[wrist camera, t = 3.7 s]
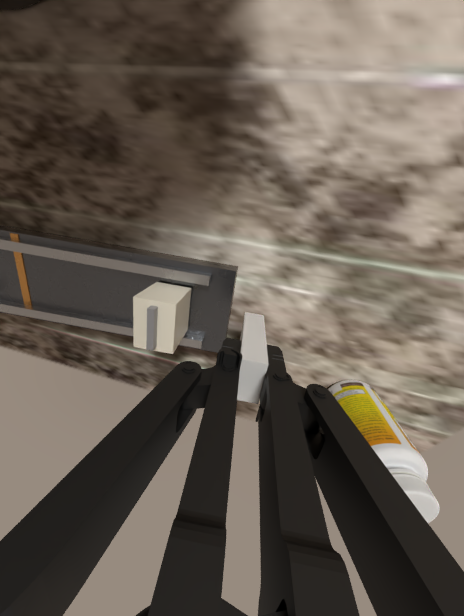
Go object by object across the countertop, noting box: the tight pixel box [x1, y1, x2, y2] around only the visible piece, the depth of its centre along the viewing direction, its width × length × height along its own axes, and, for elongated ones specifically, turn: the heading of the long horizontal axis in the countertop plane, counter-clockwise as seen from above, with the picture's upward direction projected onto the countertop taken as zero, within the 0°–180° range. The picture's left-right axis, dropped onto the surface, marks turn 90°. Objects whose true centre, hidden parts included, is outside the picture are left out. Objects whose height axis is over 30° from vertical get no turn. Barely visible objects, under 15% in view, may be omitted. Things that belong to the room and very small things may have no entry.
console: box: [0, 225, 238, 353], centre depth 20 cm, size 8×26×4 cm, turn 81°
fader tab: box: [133, 282, 191, 354], centre depth 18 cm, size 4×3×5 cm
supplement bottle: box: [328, 380, 440, 523], centre depth 20 cm, size 6×6×10 cm
